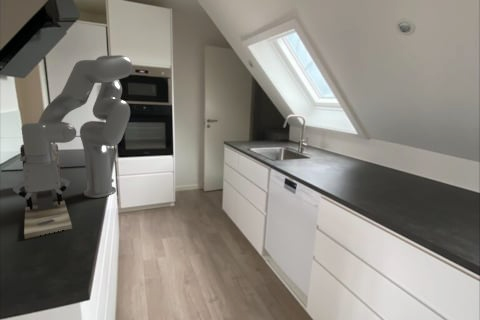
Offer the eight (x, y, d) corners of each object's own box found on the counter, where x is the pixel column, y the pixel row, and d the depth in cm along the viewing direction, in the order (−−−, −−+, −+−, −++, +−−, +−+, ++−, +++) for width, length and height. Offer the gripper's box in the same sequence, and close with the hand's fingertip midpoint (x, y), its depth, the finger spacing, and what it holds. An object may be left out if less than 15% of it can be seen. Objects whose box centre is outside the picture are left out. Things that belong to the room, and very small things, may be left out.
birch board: (25, 210, 97) (25, 206, 97) (64, 203, 105) (64, 199, 104) (24, 239, 79) (24, 234, 79) (72, 228, 86) (71, 224, 86)
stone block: (63, 183, 126) (58, 142, 122) (56, 188, 120) (51, 145, 115) (32, 184, 124) (26, 142, 119) (23, 189, 117) (16, 145, 112)
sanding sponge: (38, 205, 98) (36, 192, 97) (52, 202, 101) (51, 190, 100) (38, 213, 92) (36, 199, 91) (54, 210, 95) (52, 197, 94)
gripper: (5, 164, 84) (13, 215, 88) (70, 158, 95) (74, 204, 99) (7, 159, 90) (14, 207, 94) (67, 154, 101) (72, 198, 105)
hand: (45, 205), depth 96 cm, fingers open, 7 cm apart
